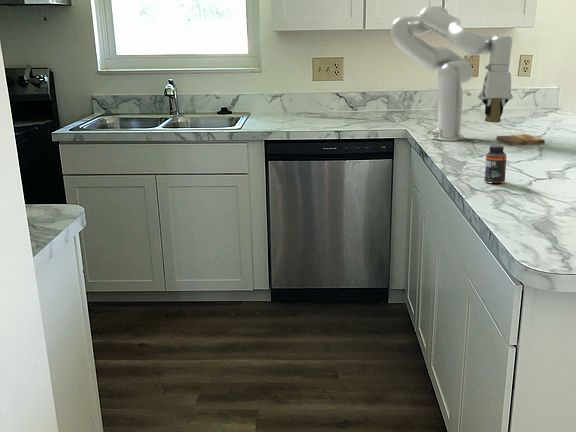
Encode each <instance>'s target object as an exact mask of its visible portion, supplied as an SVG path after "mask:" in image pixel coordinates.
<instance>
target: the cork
mask: <svg viewBox="0 0 576 432" xmlns="http://www.w3.org/2000/svg"><path fill="white" fill-rule="evenodd" d="M501 101H502V99H500V98H496V99H491V104H490V106H491V112H490V116H488V115H485V118H484V121H485V122H487V123H501V119H502V118H501V117H502V116H500V102H501Z"/></svg>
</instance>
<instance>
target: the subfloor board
mask: <svg viewBox="0 0 576 432" xmlns="http://www.w3.org/2000/svg"><path fill="white" fill-rule="evenodd" d="M496 141H498V142H501V143H504V144H506V145H509V146H525V145H527V146H530V145H545V143H546V142H545V141H546V140H544V139H543V138H539V137H538V136H537V137H536V136H534V135H532V134H528V133H527V134H511V135H497V136H496Z"/></svg>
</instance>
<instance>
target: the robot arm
mask: <svg viewBox="0 0 576 432" xmlns="http://www.w3.org/2000/svg"><path fill="white" fill-rule="evenodd" d="M429 32H434V33H436V34H438V35H440V36H441V37H443V38H445V39H447V40H448V41H449V42H450V43H451V44H452V45H453V46H455V47H457V48H458V49H460V50H462V51H464V52H465V53H468V54H470V55H473V56H478V55H488V54H489V61H488V62H489V63H488V65H485V70H487V71H486V73H485V76H484V79H483V84H482V90H481V92H480V93H479V95H477V99H479V100H480V101H482V104H484V106H485V108H484V114H485V116H486V115H488V116H490V112H491V106H490V104H491V99H496V98H500V99H502V101H501V102H500V116H501V117H502V114H503V113H504V107H505V106H506V104H507V103H508V102H509V101H511V100H512V99H513V98H514V96H513V95H512V93H511V92H512V75H511V72H510V71H509V70H510V62H511V54H512V53H511V52H512V47H513V46H512V45H513V38H512V37H511V36H509V35H492V34H486V33H485V34H484V33H483V34H476V33H474V32H472V31H470V30H469V29H466V28H465V27H464V26H462V25H461V21H460V19H459V18H457V17H455V16H453V15H452V14H449V12H448V10H447V9H446V8H445V7H443V6H439V5H429V6H425V7H423V9H421V10H420V12H419V14H417V15H404V16H400V17H397V18H396V19H394V20H393V22H392V23H391V27H390V35H391V39H392V42H393V43H394V45H395V47H396V48H397V49H398V50H399V51H401V52H402V53H403V54H405V55H406V56H408V57H409V58H411V60H413V61H414V62H416V63H417V64H418V65H419V66H422V68H424V69H425V70H427V71H430V72H436V71H437V82H438V83H437V84H438V109H437V126H435V128H433V129H426V130H425V135H430V136H433V139H434V140H437V141H443V142H455V141H462V140H464V139H465V136H464V135H463V134H461V128H462V115H463V114H462V111H463V110H462V109H463V88H462V87H463V86H462V84H466V83H468V82H469V81H470V80H471V79H472V77H473V75H474V70H473V66H472V65H471V64H470V62H469V61H468V60H466V59H464V57H461V56H460V55H459V54H458V53H456V52H454V51H453V50H452V49H450V48H448V47H445V46H444V47H443V46H439V47H436V46H435V47H434V46H432V45H430V44H429V43H427V42H425V41H424V40H423V39H422V38H420V37H419V36H422V35H425V34H427V33H429Z"/></svg>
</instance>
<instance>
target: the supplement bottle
mask: <svg viewBox="0 0 576 432" xmlns="http://www.w3.org/2000/svg"><path fill="white" fill-rule="evenodd" d="M504 148H505V147H504V145H501V144H492V145H489V152H487V153H486V154H485V162H484V163H485V166H484V167H485V168H484V182H485V181H487V182H492V183H502V182H504V183H505V181H506V167H507V154H506V153H505V152H504ZM502 184H503V183H502Z"/></svg>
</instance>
